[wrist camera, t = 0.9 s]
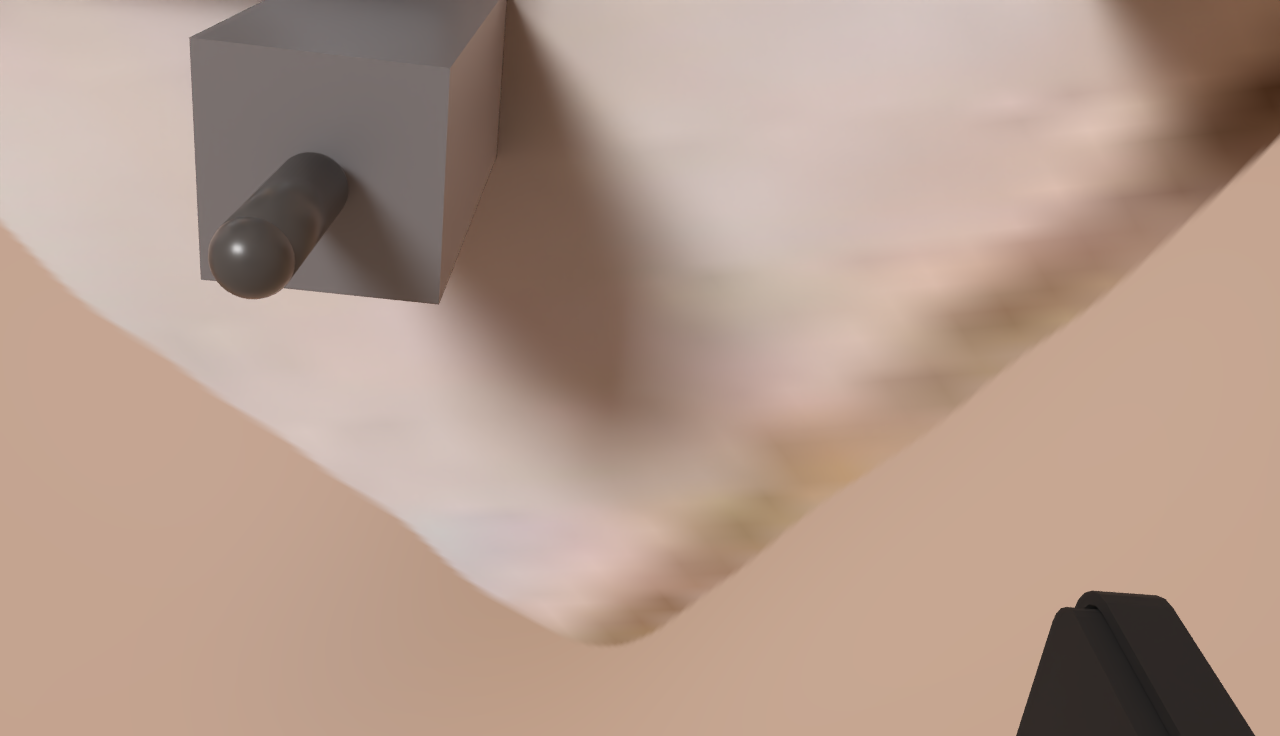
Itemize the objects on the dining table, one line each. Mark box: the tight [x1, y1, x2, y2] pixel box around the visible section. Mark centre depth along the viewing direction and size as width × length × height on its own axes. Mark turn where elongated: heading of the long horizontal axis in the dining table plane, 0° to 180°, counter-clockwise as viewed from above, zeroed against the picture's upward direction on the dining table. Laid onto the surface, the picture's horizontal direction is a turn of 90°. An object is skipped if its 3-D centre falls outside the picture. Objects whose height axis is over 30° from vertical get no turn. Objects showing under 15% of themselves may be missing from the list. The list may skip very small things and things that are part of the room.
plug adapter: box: [190, 0, 507, 304], centre depth 26 cm, size 5×5×17 cm
